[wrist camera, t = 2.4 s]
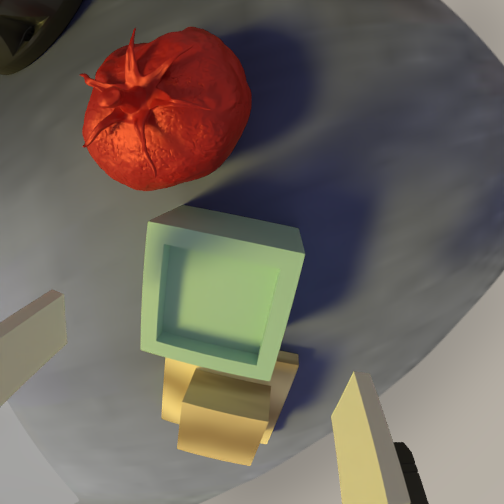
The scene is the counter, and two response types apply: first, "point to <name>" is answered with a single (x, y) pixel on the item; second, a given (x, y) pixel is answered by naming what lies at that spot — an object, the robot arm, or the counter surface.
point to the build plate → (185, 375)
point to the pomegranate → (166, 109)
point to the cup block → (218, 289)
